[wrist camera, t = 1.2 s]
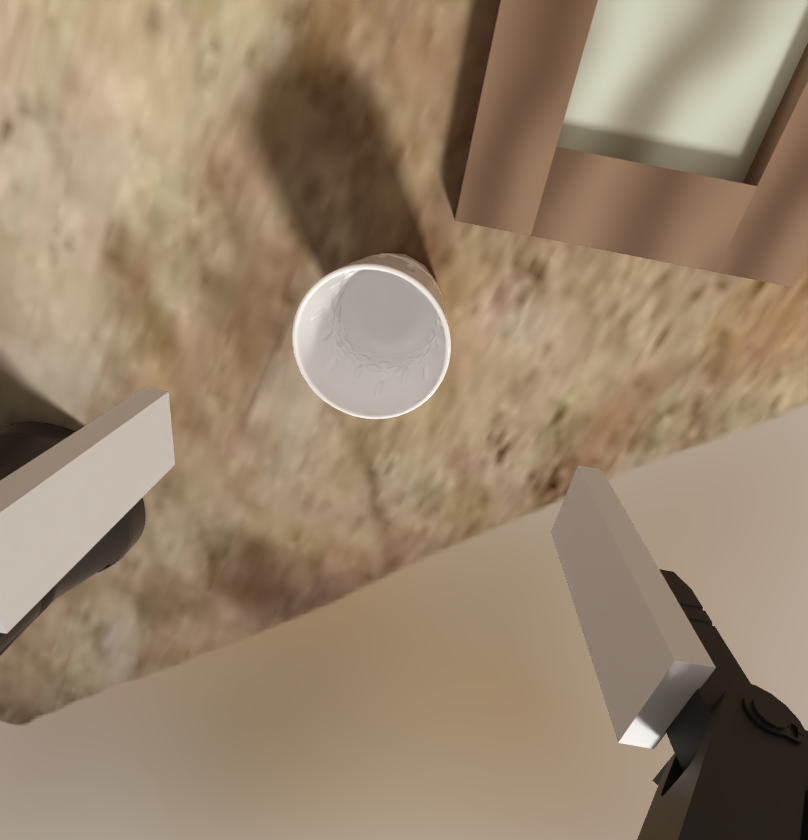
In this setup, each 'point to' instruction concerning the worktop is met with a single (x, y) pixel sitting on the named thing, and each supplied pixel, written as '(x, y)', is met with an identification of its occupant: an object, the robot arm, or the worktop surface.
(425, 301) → the white cup
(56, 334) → the worktop surface
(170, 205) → the worktop surface
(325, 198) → the worktop surface
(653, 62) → the wooden picture frame
